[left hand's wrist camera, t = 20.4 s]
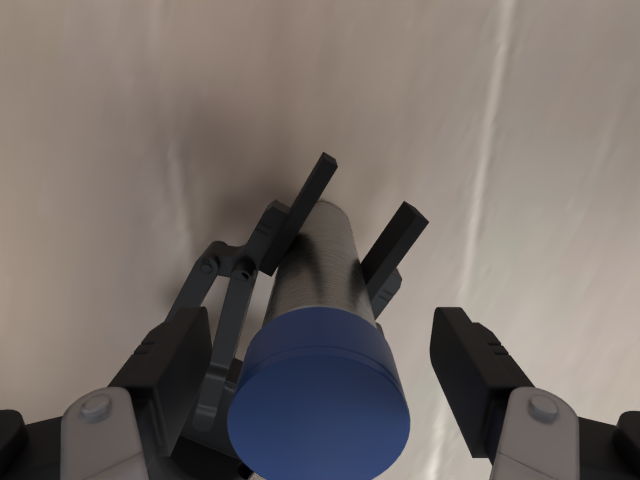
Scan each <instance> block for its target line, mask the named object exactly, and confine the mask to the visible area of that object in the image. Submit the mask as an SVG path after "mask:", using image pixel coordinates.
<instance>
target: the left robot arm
mask: <svg viewBox="0 0 640 480" xmlns="http://www.w3.org/2000/svg"><path fill="white" fill-rule="evenodd" d="M211 357H212V343H211V335H210V327H209V320H208V312H207V309H206V307H180V309H179V310H178V311H177V313H176V314H175V315H174V317H173V318H172V320H171V321H170V322H163V323H161V324H160V325H158V326H157V327H156V328H154V329H153V330H151V331H150V332H149V333H148V334H147V336H146V337H145V338H144V340H143V341H142V342H141V345H139V346H138V347H137V349H136V350H135V351H134V354H132V355H131V357H130V358H129V359H128V360H127V362H126V363H125V364H124V366H123V367H122V368H121V370H120V371H119V372H118V373H117V375H116V376H115V377H114V379H113V380H112V381H111V383H110V384H109V385H108V386H107V387H106V388H101V389H98V390H95V391H92V392H90V393H88V394H86V395H84V396H82V397H81V398H79V399H78V400H77V401H75V402H74V403H73V404H72V405H71V406H70V407H69V408H68V409H67V410H66V411H65V413H64V415H63V416H61V417H57V418H53V419H48V420H44V421H40V422H36V423H32V424H27V425H25V423H24V420H23V418H22V415H21V414H20V413H19V412H18V411H15V410H8V409H7V410H0V480H151V479H150V475H149V471H148V469H149V467H150V465H151V462H152V460H153V458H154V457H170V455H171V453H172V451H173V448H174V446H175V444H176V442H177V439H178V437H179V435H180V432H181V430H182V428H183V425H184V423H185V421H186V418H187V416H188V414H189V412H190V409H191V407H192V405H193V402H194V400H195V398H196V395H197V393H198V391H199V388H200V386H201V384H202V382H203V379H204V377H205V375H206V372H207V370H208V368H209V365H210V362H211ZM430 359H431V363H432V366H433V369H434V371H435V373H436V376H437V378H438V380H439V383H440V385H441V387H442V389H443V392H444V394H445V396H446V398H447V401H448V403H449V405H450V408H451V410H452V412H453V414H454V417H455V419H456V421H457V423H458V426H459V428H460V430H461V433H462V435H463V437H464V439H465V442H466V444H467V446H468V449H469V451H470V453H471V455H472V458H489V460H490V462H491V464H492V466H493V467H492V471H491V475H490V479H489V480H640V411H628V412H624V413H623V414H621V416H620V418H619V420H618V423H617V425H616V426H615V425H610V424H606V423H602V422H598V421H594V420H590V419H585V418H582V417H578V416H577V415H576V413H575V411H574V410H573V409H572V408H571V407H570V406H569V405H568V404H567V403H566V402H565V401H563V400H562V399H561V398H559V397H558V396H556V395H554V394H552V393H550V392H548V391H545V390H542V389H539V388H535V386H534V385H533V384H532V382H531V381H530V380H529V379H528V377H527V376H526V375H525V373H524V372H523V371H522V370H521V368H520V367H519V366H518V364H517V363H516V362H515V361H514V359H513V358H512V357H511V355H509V354H508V352H507V350H506V349H505V348H504V346H501V343H500V341H499V340H498V339H497V337H496V336H495V335H494V334H493V332H491V331H490V330H489V329H487V328H486V327H484V326H483V325H481V324H480V323H472V322H471V320H470V319H469V317H468V316H467V315H466V313H465V312H464V310H463V309H462V308H461V307H437V308H436V309H435V312H434V319H433V326H432V334H431V341H430Z"/></svg>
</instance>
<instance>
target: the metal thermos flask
mask: <svg viewBox="0 0 640 480" xmlns="http://www.w3.org/2000/svg"><path fill="white" fill-rule="evenodd" d="M307 307H331V308H337V309H341V310H345V311H348V312H351V313H353V314H355V315H358V316H360V317H361V318H363V319H365V320H366V321H368V322H369V323H370V324H372V325H373V326H374V327H375V328H376V329H377V327H376V323H375V320H374V316H373V312H372V308H371V304H370V300H369V296H368V292H367V288H366V285H365V281H364V277H363V273H362V269H361V265H360V261H359V257H358V253H357V250H356V246H355V242H354V238H353V234H352V230H351V226H350V223H349V220H348V218H347V216H346V214H345V213H344V212H343V211H342V210H341V209H340V208H339V207H337V206H335V205H333V204H331V203H328V202H316V204H315V205H314V207H313V209H312V210H311V212H310V214H309V215H308V217H307V219H306V220H305V222H304V224H303V225H302V227H301V229H300V230H299V232H298V234H297V235H296V237H295V239H294V240H293V242H292V244H291V245H290V247H289V249H288V250H287V252H286V254H285V255H284V257H283V259H282V260H281V262H280V264H279V266H278V269H277V273H276V277H275V281H274V284H273V288H272V292H271V295H270V299H269V303H268V307H267V310H266V314H265V318H264V321H263V325H262V327H264V326H265V325H266V324H267V323H269V322H270V321H272V320H273V319H275V318H276V317H278V316H280V315H282V314H285V313H287V312H290V311H293V310H296V309H301V308H307Z"/></svg>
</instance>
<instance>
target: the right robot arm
mask: <svg viewBox="0 0 640 480" xmlns="http://www.w3.org/2000/svg"><path fill="white" fill-rule="evenodd" d="M337 167H338V166H337V163H336V159H334V158H333V157H331V156H329V155H328V154H326V153H324V152H323V153H322V155H321V157H320V158H319V160H318V162H317V163H316V165H315V167H314V169H313V170H312V172H311V174H310V176H309V177H308V179H307V181H306V182H305V184H304V186H303V188H302V189H301V191H300V193H299V195H298V196H297V198H296V200H295V201H294V203H293V205H292V207H291V208H290V207H288V206H286V205H285V204H283V203H281V202H279V201H277V200H274V201H273V202H272V203H270V204H269V205H268V206H267V208H266V210H265V212H264V214H263V215H262V217H261V219H260V221H259V223H258V224H257V226H256V228H255V230H254V232H253V233H252V235H251V237H250V239H249V240H248V242H247V243H246V244H245V245H243V246H239V247H234V246H228V245H227V244H226V243H225V242H223V241H214V242H212V243H211V244H210V246H209V247H208V248H207V249H206V250H205V251H204V253H203V254H202V255H201V256H200V257H199V259H198V260H197V261H196V263H195V265H194V267H193V268H192V270H191V272H190V274H189V276H188V278H187V280H186V282H185V284H184V285H183V287H182V289H181V291H180V293H179V295H178V297H177V299H176V301H175V302H174V304H173V306H172V308H171V310H170V312H169V314H168V316H167V318H166V319H165V321H164V322H170V321H171V320H172V318H173V317H174V315H175V314H176V313H177V311H178V310H179V309H180V307H200V305H201V304H202V302H203V300H204V298H205V296H206V295H207V293H208V291H209V289H210V287H211V286H212V284H213V282H214V280H215V279H216V277H217V275H219V276H225V277H229V278H230V281H229V285H228V289H227V293H226V297H225V301H224V305H223V309H222V313H221V317H220V321H219V325H218V329H217V332H216V336H215V340H214V344H213V348H212V357H211V362H210V365H209V368H208V370H207V372H206V375H205V377H204V379H203V382H202V384H201V386H200V388H199V391H198V393H197V395H196V398H195V400H194V402H193V405H192V407H191V409H190V412H189V414H188V416H187V418H186V421H185V423H184V425H183V428H182V430H181V432H180V435H179V437H178V439H177V442H176V444H175V446H174V448H173V451H172V453H171V455H170V457H154V458H153V460H152V462H151V465H150V467H149V469H148V471H149V475H150V479H151V480H250V478H251V477H252V476H253V474H254V471H252V470H251V469H250V468H249V467H248V466H247V465H246V464H245V463H244V462H243V461H242V460H241V459H240V457H239V456H238V455H237V453H236V452H235V450H234V448H233V446H232V444H231V441H230V438H229V434H228V429H227V417H228V410H229V407H230V404H231V401H232V397H233V394H234V391H235V388H236V384H237V381H238V378H239V375H240V371H241V368H242V365H243V362H242V361H240V360H238V359H236V358H235V354H236V350H237V347H238V343H239V339H240V335H241V331H242V328H243V324H244V321H245V317H246V314H247V310H248V307H249V303H250V299H251V296H252V292H253V289H254V285H255V282H256V278H257V275H258V271H261V272H263V273H265V274H267V275H269V276H271V277H272V275H273V273H274V272H275V270H276V268H277V267H278V265H279V264H280V262H281V260H282V259H283V257H284V255H285V254H286V252H287V250H288V249H289V247H290V245H291V244H292V242H293V240H294V239H295V237H296V235H297V234H298V232H299V230H300V229H301V227H302V225H303V224H304V222H305V220H306V219H307V217H308V215H309V214H310V212H311V210H312V209H313V207H314V205H315V204H316V202H317V200H318V199H319V197H320V196H321V194H322V192H323V191H324V189H325V187H326V186H327V184H328V182H329V181H330V179H331V177H332V176H333V174H334V172H335V171H336V169H337ZM428 223H429V221H428V220H427V219H426V218H425V217H424V216H423V215H422V214H421V213H420V212H419V211H418V210H417V209H416V208H415V207H413V206H412V205H410V204H408V203H407V202H405V201H404V202H403V203H402V205H401V206H400V207H399V209H398V210H397V212H396V213H395V215H394V216H393V218H392V219H391V220H390V222H389V223H388V225H387V226H386V228H385V229H384V231H383V232H382V233H381V235H380V236H379V238H378V239H377V241H376V242H375V244H374V245H373V246H372V248H371V249H370V251H369V252H368V254H367V255H366V257H365V258H364V259H363V261H362V262H361V264H360V265H361V269H362V273H363V277H364V281H365V285H366V288H367V292H368V296H369V300H370V304H371V308H372V312H373V316H374V320H376V319H377V317H378V316H379V315H380V313H381V312H382V311H383V310H384V308H385V307H386V306H387V304H388V303H389V301H390V300H391V299H392V298H393V296H394V295H395V294H396V292H397V291H398V290H399V288H400V285H401V282H402V278H401V276H400V274H399V272H398V270H397V268H396V267H397V265H398V264H399V263H400V261H401V260H402V259H403V257H404V256H405V254H406V253H407V252H408V250H409V249H410V248H411V246H412V245H413V244H414V242H415V241H416V240H417V238H418V237H419V235H420V234H421V233H422V231H423V230H424V229H425V227H426V226H427V225H428ZM375 323H376V322H375ZM376 327H377V330H378V331H379V332H380V333H381V334H382V335H383V337H384V333H383V330H382V327H381V325H380V324H378V323H376ZM384 338H385V337H384Z"/></svg>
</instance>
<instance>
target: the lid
mask: <svg viewBox="0 0 640 480" xmlns="http://www.w3.org/2000/svg"><path fill="white" fill-rule="evenodd" d="M227 429H228V434H229V438H230V441H231V444H232V446H233V448H234V450H235V452H236V453H237V455H238V456H239V457H240V459H241V460H242V461H243V462H244V463H245V464H246V465H247V466H248V467H249V468H250V469H251V470H252V471H254V472H255V473H256V474H258V475H259V476H261V477H263V478H265V479H266V480H372V479H373V478H375V477H377V476H378V475H380V474H381V473H383V472H384V471H385V470H387V469H388V468H389V467H390V466H391V465H392V464H393V463H394V462H395V461H396V460H397V458H398V457H399V456H400V454H401V453H402V451H403V449H404V447H405V445H406V443H407V440H408V437H409V432H410V414H409V409H408V406H407V402H406V399H405V395H404V392H403V389H402V385H401V382H400V378H399V375H398V372H397V368H396V365H395V361H394V358H393V355H392V352H391V349H390V347H389V345H388V343H387V341H386V339H385V338H384V337H383V335H382V334H381V333H380V332H379V331H378V330H377V329H376V328H375V327H374V326H373V325H372V324H370V323H369V322H368V321H366V320H365V319H363V318H361V317H360V316H358V315H355V314H353V313H351V312H348V311H345V310H341V309H337V308H331V307H307V308H301V309H296V310H293V311H290V312H287V313H285V314H282V315H280V316H278V317H276V318H275V319H273V320H272V321H270V322H269V323H267V324H266V325H265V326H264V327H262V328H261V330H260V331H259V332H258V333H257V334H256V335H255V336H254V338H253V339H252V341H251V343H250V345H249V347H248V349H247V352H246V355H245V358H244V361H243V365H242V368H241V371H240V375H239V378H238V381H237V384H236V388H235V391H234V394H233V397H232V401H231V404H230V407H229V410H228V417H227Z"/></svg>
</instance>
